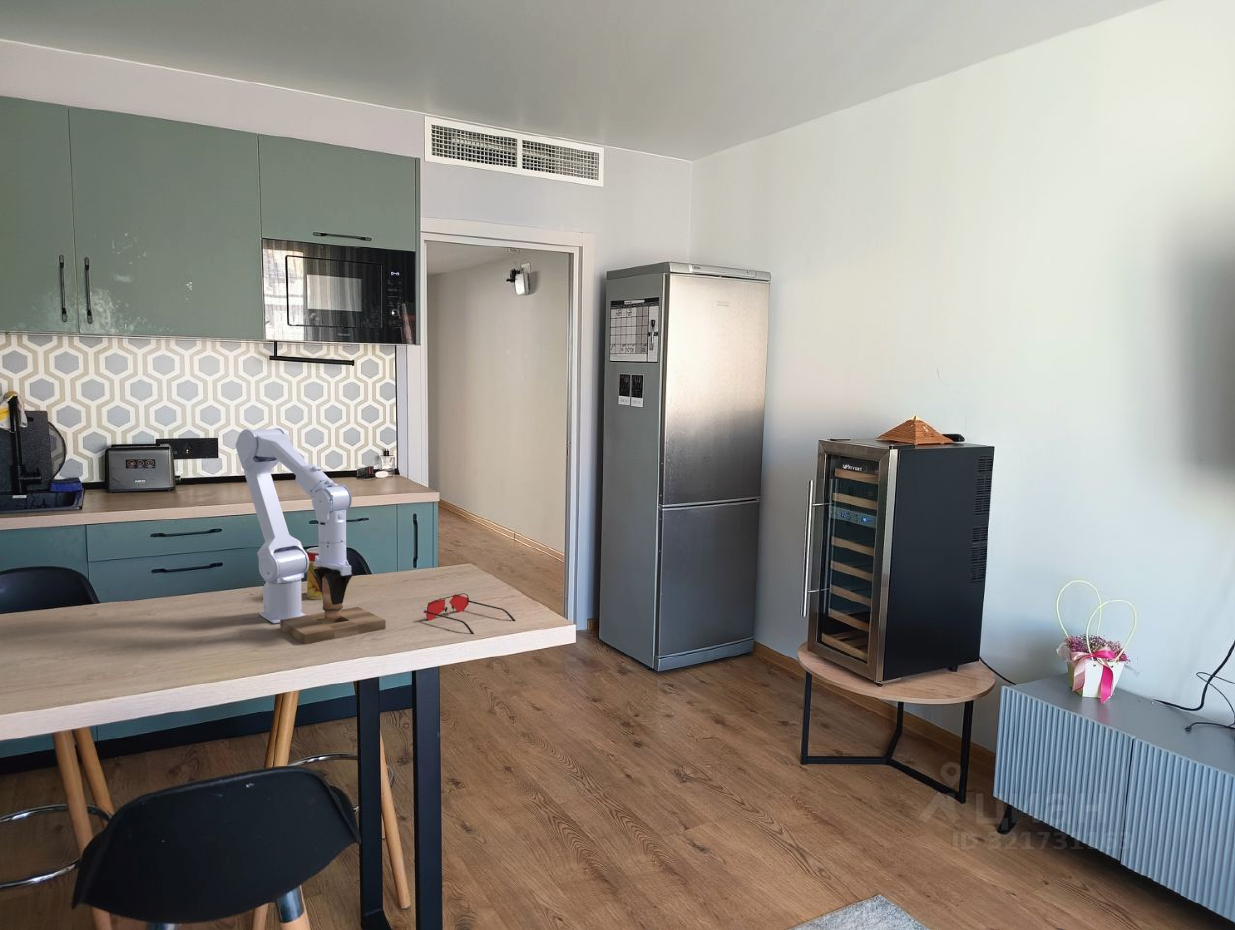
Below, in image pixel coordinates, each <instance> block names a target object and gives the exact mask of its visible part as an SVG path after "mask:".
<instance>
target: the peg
mask: <svg viewBox="0 0 1235 930" xmlns="http://www.w3.org/2000/svg"><path fill="white" fill-rule="evenodd" d="M322 586H323V599H322V610H323V611H324V612H325V619H337V618H340V617H341V609H344V607H343V603H342V604H336V605H333V604H332V601H331V595H330V588H329V585H328V582H327V579H326V577H325V576H324V577H322Z"/></svg>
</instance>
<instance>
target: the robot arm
mask: <svg viewBox="0 0 1235 930" xmlns="http://www.w3.org/2000/svg"><path fill="white" fill-rule="evenodd" d="M235 448H236V452H237V455H238V458H239V459H238V460H239V462H240V465H241V468H242V469H243V473H244V477H245V479H246V483H247V486H248V490H249V493H250V497H251V499H252V502H253V506H254V508H255V512H256V517H257V520H258V523H259V526H260V529H261V533H262V537H263V539H264V543H263V544H262V545H261V546H260V548H259V549H258V551H257V558H258V570H259V574H260V576H261V578H263V580H264V585H263V589H262V595H263V596H262V598H263V599H262V600H263V603H262V604H263V605H262V606H263V611H261V612H259V615H260V616H261V617H262V618H264V619H266V620H268V621H269V622H270V623H272V624H280V620H282V619H288V618H294V617H300V616H306V615H307V614H306V613H304V612H303V611H302V610H303V609H302V608H303V606H302V579H304V578H305V574H307V570H308V568H309V558H308V555H307V551H305V549H304V547H303V545H302V542H301V541H300V540H299V539H297V538H295V537H293V536H292V535H291V534H290V532H289V530H288V526H287V522H286V520H285V519H286V518H285V516H284V513H283V510H282V506H281V503H280V500H279V497H278V494H277V493H278V492H277V490H276V486H275V483H274V479H273V477H272V474H271V472H272V469H273V468H274V467H276V466H277V465H278V463H281V464H282V465H284V467H285V468H287V469H288V470H289V471H290V472H292V473H293V474H294V476H295V482H296V484H297V485H298V486H299V487H300V489H302V491H304V492H305V494H306V495H307V496H308V497H310V498H311V504H312V509H313V510H314V511H315V519H316V522H318V547H319V555H318V556H315V562H314V566H317V567H319V566H320V567H319V568H317V569H313V572H314V573H315V575H316V577H317V579H318V581H319V584H320V588H321V592H322V596H323V586H322V577H324V576H325V577H326V579H327V582H328V585H329V588H330V595H331V601H332V604H333V605H336V604H342V605H343V602H344V599H345V595H346V590H347V587H348V585H349V582H350V581H351V579H352V577H353V575H354V574H353V572H352V565H350V564H349V561H348V559H347V511H348V510H349V509H350V508H351V506H352V503H353V497H352V494H351V491H350V490H349V489H348V487H347V486H346V485H344V484H338V483H335V482H334V481H333V480H332V479H331V478H330V477H328V476H327V474H325V472H323V470H322V468H321V467H320V465H315V464H308V463H307V461H306V460H305V459H304V458H303V457H302V455H300V453H299V452H298V451H297V450H296V449H295V447H294V446H293V445H292V443H291V437H290V435H289V434H287V433H286V431H285V430H284V429H282V428H281V427H280V428H279V427H278V428H270V429H269V428H268V429H264V428H263V429H248V428H247V429H243V430H241V432H240V433H239V435H238V437H237V439H236V442H235Z"/></svg>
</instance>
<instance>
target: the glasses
mask: <svg viewBox="0 0 1235 930" xmlns="http://www.w3.org/2000/svg"><path fill="white" fill-rule="evenodd" d="M463 595H465V596H463ZM466 596H467V597H466ZM449 598H451V599H450V600H449V601H448V603H449V604H450V605H451V609H452V610H454V611H455V610H456V611H457V612H458V613H461V612H463V611H464V610H465V609H466V608H467V607H468V606H469V603H470V604H475V605H478V606H479V605H480V606H483V607H488V608H492V609H497V610H500V611H503V612H504V613H506V615H507V616H508V617H509V618H510V619H511V620H512V621H513V622H517V620H516V619H515V618H514V617H513V616H512V615H511V613H510V612H508V611H507V610H506V609H504V608H502V607H497V606H493V605H489V604H485V603H480V602H477V601H473V600H470V597H469V594H467V593H465V592H463V593H459V594H458V593H457V594H456V593H455V594H452V595H451V596H450V595H449V596H446V597H444V598H443V597H442V598H441V597H440V598H439V599H435V600H432V601H428V603H427V608H426V609H424V610H423V614H425V617H426V618H427V619H428V620H429V621H432V620H433V619H434V618H436V617H441V618H445V619H449V620H452V621H456V622H459V623H462V624H463V625H464V626H465V627H466V628H467V630H468V632H469V633H470V634H471V635H475V633H474V631H473V630H472V628H471V627H470V626H469V625H468V623H466V622H465V621H464V620H462V619H459V618H455V617H452V616H448V615H447V616H446V615H442V614H441V613H442V612H445V613H446V612H448V608H449V607H448V606H446V599H449Z"/></svg>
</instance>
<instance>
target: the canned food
mask: <svg viewBox="0 0 1235 930" xmlns="http://www.w3.org/2000/svg"><path fill="white" fill-rule="evenodd" d="M306 553H307V555H308V558H309V568H308V570H307V572H306V581H307V583H306V584H307V585H306V586H307V588H306V589H307V590H306V591H307V592H306V593H307V594H306V595H307V596H306V597H307V598H308V599H310V600H319V601H320V600H322V601H323V596H322V592H321V588H320V584H319V581H318V579H317V577H316V575H315V573H314V572H313V569H317V568H319V567H320V566H319V567H317V566H314V562H315V556H318V555H319V546H317V547H316V546H315V547H311V548H308V549H306Z"/></svg>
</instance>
